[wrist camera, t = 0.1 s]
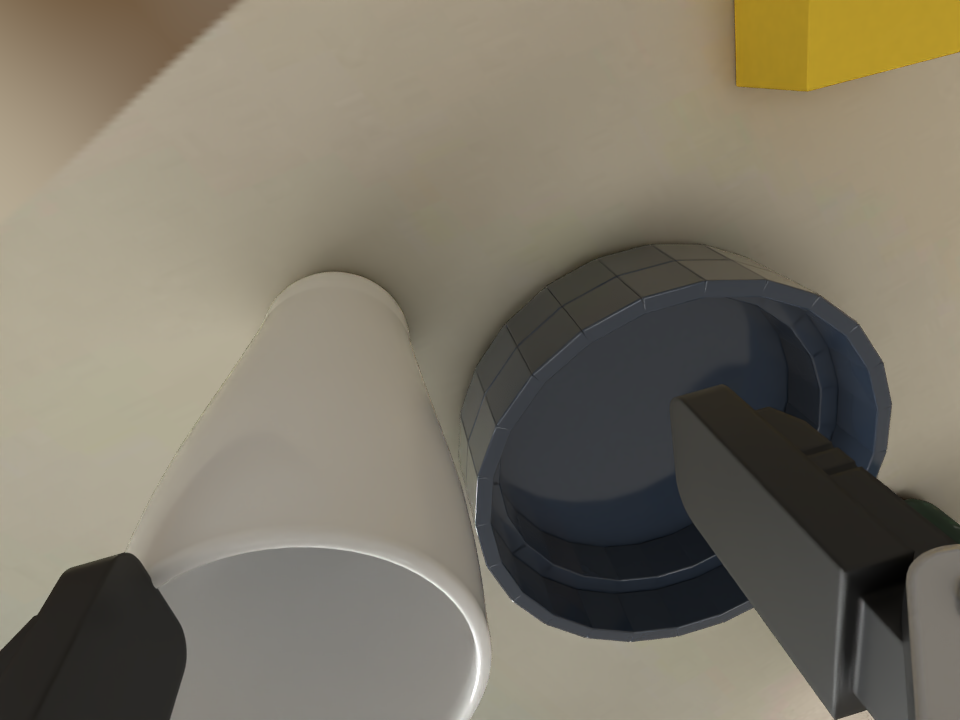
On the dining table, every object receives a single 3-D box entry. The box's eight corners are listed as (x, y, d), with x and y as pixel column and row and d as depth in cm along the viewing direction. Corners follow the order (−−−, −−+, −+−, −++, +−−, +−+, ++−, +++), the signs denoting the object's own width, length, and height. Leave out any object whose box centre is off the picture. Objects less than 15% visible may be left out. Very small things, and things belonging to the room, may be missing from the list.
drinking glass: (204, 333, 23) (-28, 721, 9) (334, 207, 22) (279, 447, 8) (340, 440, 26) (310, 853, 12) (462, 334, 24) (574, 664, 11)
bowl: (413, 300, 24) (425, 357, 19) (813, 193, 24) (913, 223, 20) (498, 595, 31) (521, 684, 27) (802, 505, 32) (873, 577, 27)
